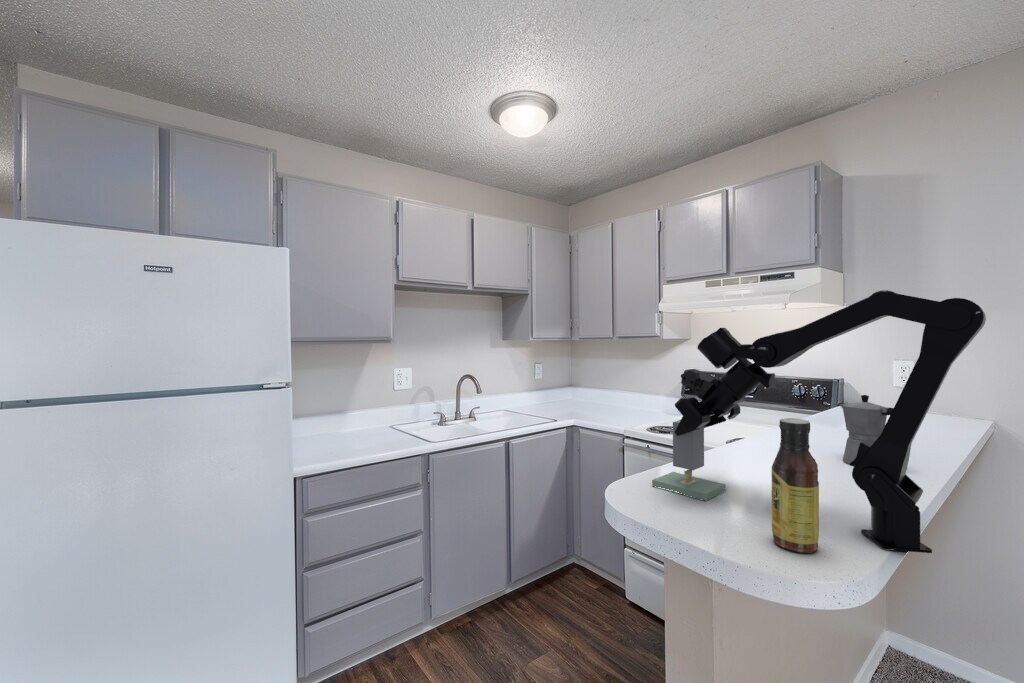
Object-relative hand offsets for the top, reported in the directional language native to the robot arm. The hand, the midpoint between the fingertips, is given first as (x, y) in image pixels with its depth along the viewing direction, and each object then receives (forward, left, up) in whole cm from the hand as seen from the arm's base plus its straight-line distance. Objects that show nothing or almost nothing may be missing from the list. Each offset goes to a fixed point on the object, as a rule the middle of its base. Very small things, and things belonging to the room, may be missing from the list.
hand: (682, 432), depth 97 cm
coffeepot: (+26, -50, -12) cm, 58 cm away
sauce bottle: (-26, -12, -12) cm, 31 cm away
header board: (-1, -1, -12) cm, 12 cm away
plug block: (-1, -1, -7) cm, 7 cm away
